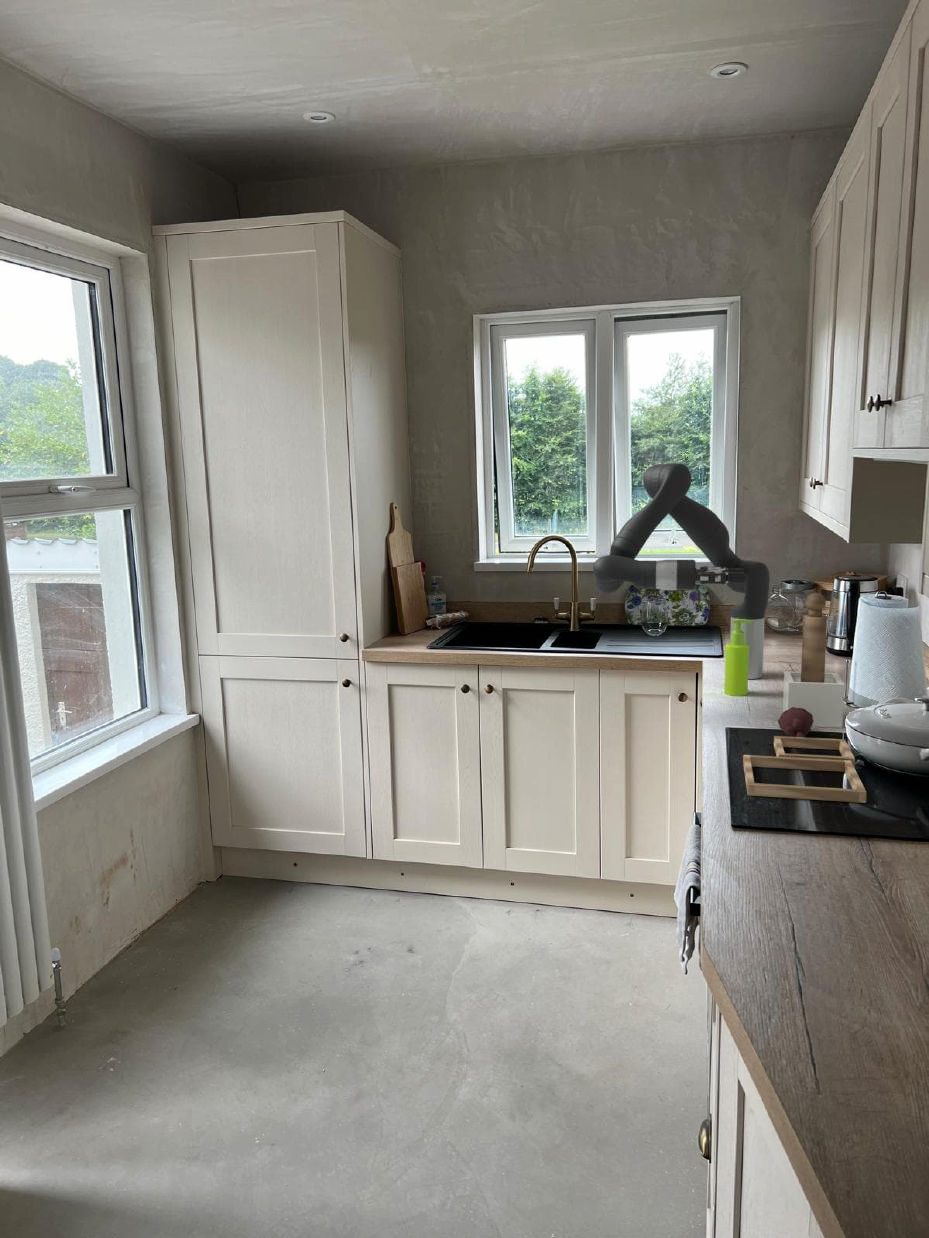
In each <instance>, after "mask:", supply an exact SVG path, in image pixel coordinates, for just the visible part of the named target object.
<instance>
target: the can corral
mask: <svg viewBox="0 0 929 1238" xmlns="http://www.w3.org/2000/svg"><path fill="white" fill-rule="evenodd" d="M773 747H774V752H775V754H776V756H775V757H794V758H812V759H831V760H849V761H851V762H852V764H853V766H854V768H855V766H856V758H855V756H854V754H853V753H852V750H851V748H850V747H849V745H848V743H847V741H846V739H842V738H841V739H840V738H826V737H825V738H824V737H823V738H821V737H806V736H805V737H791V736H783V735H774V736H773ZM784 748H796V749H798V748H799V749H818V750H836V751H839V752H840V755H841V756H840V755H839V756H837V755H823V754H822V755H820V754H802V753H801V754H800V753H786V752H785V750H784Z"/></svg>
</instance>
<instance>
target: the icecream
mask: <svg viewBox="0 0 929 1238" xmlns="http://www.w3.org/2000/svg"><path fill="white" fill-rule="evenodd" d="M813 722H814V721H813V716H812V714H811V713H809V712H808V711H806V710H805V709H803V708H795V707H792V708H790V709H789V710H786V711H784V712H783V711H782V713H781V715H780V717H779V719H778V720H777V723H778V726H779V729H780V730H782V731H783V732H784V734H785V735H786V736H787V737H805V738H806V736H807V735H808V733H810V732H811V731H812V727H813V726H812V724H813Z"/></svg>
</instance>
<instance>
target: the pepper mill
mask: <svg viewBox="0 0 929 1238" xmlns="http://www.w3.org/2000/svg"><path fill="white" fill-rule="evenodd" d="M826 603H827V601H826V598H825V596H824V595H823V594H821V593H819V592H813V593H810V594H808V596H806V598H805V606H806V607H807V609H808V612H807V613H808V614H803V616H802V638H801V639H802V640H801V642H802V643H801V662H800V663H801V665H800V666H801V669H800V672H801V682H817V683H824V677H825V673H826V672H825V671H826V650H827V649H826V648H827V647H826V646H827V630H828V629H827V628H828V627H827V626H828V625H827V623H828V616H827V615H825V614H823V609H824V608H825V607H826Z"/></svg>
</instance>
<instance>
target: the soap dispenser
mask: <svg viewBox="0 0 929 1238" xmlns="http://www.w3.org/2000/svg"><path fill="white" fill-rule="evenodd" d="M732 622H733V623H734V631H732V632H731V631H730V632H731V643H730V642H729V643H727V644H725V657H724V658H725V660H724V662H725V663H724V692H723V693H724V694H725V695H727V696H733V697H743V696H747V695H748V686H749V685H748V683H749V679H748V656H749V645H747V644H744V632H742V631H741V623H752V624H753V623H754V622H753V621H752V620H747V619H734V620H732Z"/></svg>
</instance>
